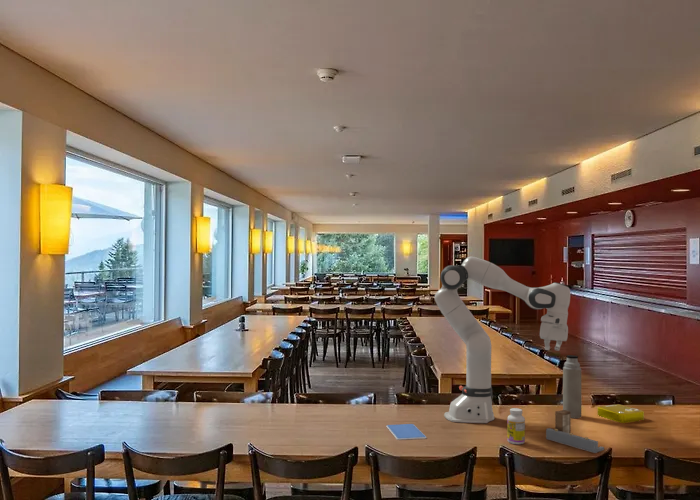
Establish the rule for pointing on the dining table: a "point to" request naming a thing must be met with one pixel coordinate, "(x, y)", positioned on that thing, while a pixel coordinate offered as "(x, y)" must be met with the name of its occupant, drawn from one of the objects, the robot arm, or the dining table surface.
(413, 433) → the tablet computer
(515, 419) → the supplement bottle
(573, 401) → the thermos bottle
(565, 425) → the brown rectangular box
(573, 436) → the rail
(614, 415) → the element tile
